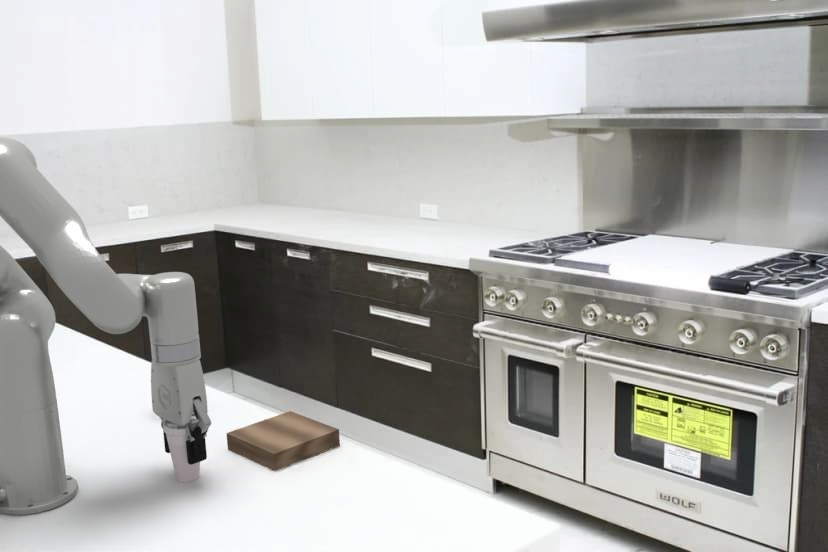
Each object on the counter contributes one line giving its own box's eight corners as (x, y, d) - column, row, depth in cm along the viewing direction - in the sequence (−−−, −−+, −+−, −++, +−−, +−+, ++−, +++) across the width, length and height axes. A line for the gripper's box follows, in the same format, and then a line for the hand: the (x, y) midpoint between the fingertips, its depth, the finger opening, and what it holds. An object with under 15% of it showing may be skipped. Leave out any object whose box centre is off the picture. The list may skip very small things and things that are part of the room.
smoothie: (164, 474, 148) (156, 394, 145) (202, 465, 151) (195, 387, 148) (172, 489, 142) (164, 406, 139) (212, 480, 145) (205, 398, 142)
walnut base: (275, 470, 148) (274, 453, 147) (227, 449, 157) (226, 433, 157) (339, 445, 157) (338, 429, 157) (291, 426, 167) (290, 411, 166)
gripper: (127, 346, 145) (138, 449, 149) (183, 366, 133) (194, 478, 137) (169, 335, 150) (178, 436, 154) (226, 354, 138) (235, 463, 142)
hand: (185, 455), depth 145 cm, fingers closed on smoothie, 6 cm apart
